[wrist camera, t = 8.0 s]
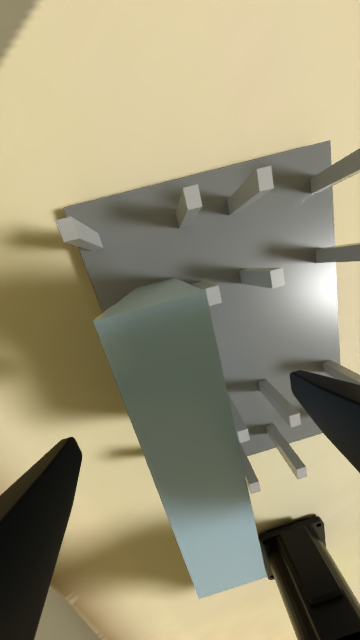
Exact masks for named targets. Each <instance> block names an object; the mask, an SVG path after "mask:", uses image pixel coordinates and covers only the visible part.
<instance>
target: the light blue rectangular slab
mask: <svg viewBox="0 0 360 640" xmlns="http://www.w3.org/2000/svg"><path fill="white" fill-rule="evenodd" d="M93 323H94V326H95V328H96V331H97V333H98V336H99V339H100V341H101V344H102V347H103V349H104V352H105V354H106V357H107V360H108V362H109V365H110V367H111V370H112V373H113V375H114V378H115V381H116V383H117V386H118V388H119V391H120V394H121V396H122V399H123V401H124V404H125V407H126V409H127V412H128V415H129V417H130V420H131V422H132V425H133V428H134V430H135V433H136V435H137V438H138V441H139V443H140V446H141V449H142V451H143V454H144V456H145V459H146V462H147V464H148V467H149V469H150V472H151V475H152V477H153V480H154V483H155V485H156V488H157V490H158V493H159V496H160V498H161V501H162V504H163V506H164V509H165V511H166V514H167V517H168V519H169V522H170V524H171V527H172V530H173V532H174V535H175V538H176V540H177V543H178V545H179V548H180V551H181V553H182V556H183V558H184V561H185V564H186V566H187V569H188V572H189V574H190V577H191V579H192V582H193V585H194V587H195V590H196V592H197V595H198V598H199V599H201V598H204V597H207V596H210V595H213V594H216V593H219V592H222V591H225V590H228V589H231V588H234V587H237V586H240V585H243V584H247V583H250V582H253V581H256V580H259V579H262V578H265V577H267V576H266V571H265V566H264V562H263V557H262V552H261V548H260V543H259V538H258V534H257V529H256V524H255V520H254V515H253V510H252V506H251V501H250V496H249V492H248V487H247V482H246V478H245V473H244V468H243V464H242V459H241V454H240V450H239V445H238V440H237V436H236V431H235V426H234V421H233V417H232V412H231V407H230V403H229V398H228V393H227V389H226V384H225V379H224V375H223V370H222V365H221V361H220V356H219V351H218V347H217V342H216V337H215V333H214V328H213V323H212V319H211V314H210V309H209V305H208V300H207V295H206V291H204V290H202V289H199V288H197V287H195V286H193V285H190V284H188V283H186V282H184V281H181V280H179V279H177V278H173V279H169V280H165V281H161V282H157V283H153V284H150V285H146V286H142V287H138V288H136V289H134V290H133V291H132V292H130V293H129V294H128V295H126V296H125V297H124V298H123V299H121V300H120V301H119V302H117V303H116V304H115V305H113V306H112V307H111V308H109V309H108V310H107V311H106V312H104V313H103V314H102V315H100V316H99V317H98V318H96V319H95V320H94V321H93Z"/></svg>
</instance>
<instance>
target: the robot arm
mask: <svg viewBox="0 0 360 640" xmlns="http://www.w3.org/2000/svg"><path fill="white" fill-rule="evenodd" d="M290 383H291V390H292V393H293V395H294V396H295V398H296V399H297V400H298V401H299V403H300V404H301V405H302V407H303V408H304V409H305V411H306V412H307V413H308V415H309V416H310V417H311V418H312V420H313V421H314V422H315V424H316V425H317V426H318V427H319V429H320V430H321V431H322V432H323V433H324V434H325V436H326V437H327V438H328V439H329V440H330V441H331V442H332V443H333V444H334V445H335V446H336V448H337V449H338V450H339V451H340V452H341V453H342V454H343V455H344V456H345V457H346V458H347V460H348V461H349V462H350V463H351V464H352V465H353V466H354V467H355V468H356V469H357V470H358V472H359V473H360V385H359V384H355V383H351V382H347V381H343V380H339V379H335V378H331V377H327V376H323V375H319V374H315V373H311V372H308V371H304V370H297V371H293V372H291V373H290ZM81 461H82V452H81V450H80V448H79V446H78V444H77V442H76V440H75V438H73V437H69V438H66V439H62V440H61V441H60V442H58V443H57V444H56V445H55V446H54V447H53V448H52V449H51V450H50V451H49V452H47V453H46V454H45V455H44V456H43V457H42V458H41V459H40V460H39V461H38V462H37V463H35V464H34V465H33V466H32V467H31V468H30V469H29V470H28V471H27V472H26V473H24V474H23V475H22V476H21V477H20V478H19V479H18V480H17V481H16V482H15V483H14V484H12V485H11V486H10V487H9V488H8V489H7V490H6V491H5V492H4V493H3V494H1V495H0V640H34V638H35V635H36V631H37V628H38V624H39V621H40V617H41V614H42V610H43V607H44V603H45V600H46V596H47V593H48V589H49V586H50V583H51V579H52V576H53V572H54V569H55V565H56V562H57V558H58V555H59V551H60V548H61V544H62V541H63V537H64V534H65V530H66V527H67V523H68V520H69V516H70V513H71V509H72V505H73V501H74V496H75V491H76V486H77V481H78V476H79V471H80V466H81ZM258 538H259V543H260V548H261V552H262V557H263V562H264V566H265V571H266V574H267V577H268V579H269V580H273V579H275V580H276V583H277V586H278V588H279V591H280V594H281V596H282V599H283V602H284V604H285V607H286V610H287V612H288V615H289V618H290V620H291V623H292V626H293V628H294V631H295V634H296V636H297V639H298V640H360V604H359V602H358V601H357V599H356V597H355V596H354V594H353V592H352V591H351V589H350V587H349V586H348V584H347V582H346V581H345V579H344V577H343V576H342V574H341V572H340V571H339V569H338V567H337V566H336V564H335V562H334V561H333V559H332V557H331V556H330V554H329V552H328V551H327V549H326V543H325V532H324V523H323V521H322V520H321V518H320V517H318V516H316V517H313V518H310V519H307V520H304V521H300V522H297V523H294V524H291V525H288V526H285V527H282V528H279V529H276V530H273V531H270V532H267V533H263V534H261V535H260V536H259V537H258Z"/></svg>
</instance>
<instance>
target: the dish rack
mask: <svg viewBox="0 0 360 640" xmlns="http://www.w3.org/2000/svg"><path fill="white" fill-rule="evenodd" d="M358 173H360V149H358V150H356V151H355V152H353V153H351V154H350V155H348V156H346V157H345V158H343V159H342V160H340V161H338V162H337V163H335V164H333V165H332V166H331V146H330V141H326V142H322V143H318V144H314V145H310V146H306V147H302V148H298V149H294V150H290V151H286V152H282V153H278V154H274V155H270V156H266V157H262V158H258V159H254V160H250V161H246V162H242V163H239V164H235V165H231V166H227V167H223V168H219V169H215V170H211V171H207V172H203V173H199V174H195V175H191V176H187V177H183V178H179V179H175V180H171V181H167V182H163V183H159V184H155V185H151V186H147V187H143V188H140V189H136V190H132V191H128V192H124V193H120V194H116V195H112V196H108V197H104V198H100V199H96V200H92V201H88V202H84V203H80V204H76V205H72V206H68V207H64V211H65V213H66V216H67V218H63V219H59V220H55V221H56V223H57V226H58V228H59V231H60V234H61V236H62V239H63V241H64V243H68V244H71V245H74V246H78V248H79V251H80V254H81V256H82V259H83V262H84V264H85V267H86V270H87V272H88V275H89V278H90V280H91V283H92V286H93V288H94V291H95V294H96V296H97V299H98V302H99V304H100V307H101V310H102V312H103V313H104V312H106V311H107V310H108V309H109V308H111V307H112V306H113V305H115V304H116V303H117V302H119V301H120V300H121V299H123V298H124V297H125V296H126V295H128V294H129V293H130V292H132V291H133V290H134V289H136V288H138V287H142V286H146V285H150V284H153V283H157V282H161V281H165V280H169V279H173V278H177V279H179V280H181V281H184V282H186V283H188V284H190V285H193V286H195V287H197V288H199V289H202V290H204V291H206V295H207V300H208V305H209V309H210V314H211V319H212V323H213V328H214V333H215V337H216V342H217V347H218V351H219V356H220V361H221V365H222V370H223V375H224V379H225V384H226V389H227V393H228V398H229V403H230V407H231V412H232V417H233V421H234V426H235V431H236V436H237V440H238V445H239V450H240V454H241V459H242V464H243V468H244V473H245V478H246V482H247V485H248V487H249V490H250V492H251V494H253V493H256V492H259V491H260V486H259V481H258V479H257V477H256V475H255V473H254V471H253V469H252V466H251V464H250V462H249V460H248V458H247V456H250V455H253V454H256V453H259V452H263V451H266V450H269V449H272V448H276V447H277V449H278V450H279V452H280V453H281V455H282V456H283V458H284V459H285V461H286V462H287V464H288V465H289V467H290V468H291V470H292V471H293V473H294V474H295V476H296V477H297V479H300V478H303V477H306V476H307V473H306V466H305V465H304V464H303V462H302V461H301V460H300V458H299V457H298V456H297V454H296V453H295V452H294V450H293V449H292V448H291V446H290V445H289V443H292V442H295V441H298V440H302V439H305V438H308V437H311V436H315V435H318V434H321V433H323V432H322V431H321V430H320V429H319V427H318V426H317V425H316V424H315V422H314V421H313V420H312V418H311V417H310V416H309V415H308V413H307V412H306V411H305V409H304V408H303V407H302V405H301V404H300V403H299V401H298V400H297V399H296V398H295V396H294V395H293V393H292V390H291V383H290V373H291V372H293V371H297V370H304V371H308V372H311V373H315V374H319V375H323V376H327V377H331V378H335V379H339V380H343V381H347V382H351V383H355V384H359V385H360V375H359V374H357V373H355V372H353V371H351V370H349V369H347V368H345V367H343V366H341V365H340V347H339V325H338V303H337V280H336V262H349V261H360V243H355V244H347V245H340V246H335V236H334V213H333V191H332V186H333V185H335V184H337V183H339V182H341V181H343V180H345V179H347V178H349V177H351V176H353V175H355V174H358ZM103 313H102V314H103ZM102 314H101V315H102ZM99 316H100V315H99ZM99 316H98V317H99ZM98 317H97V318H98ZM95 319H96V318H95ZM95 319H94V320H95Z"/></svg>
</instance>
